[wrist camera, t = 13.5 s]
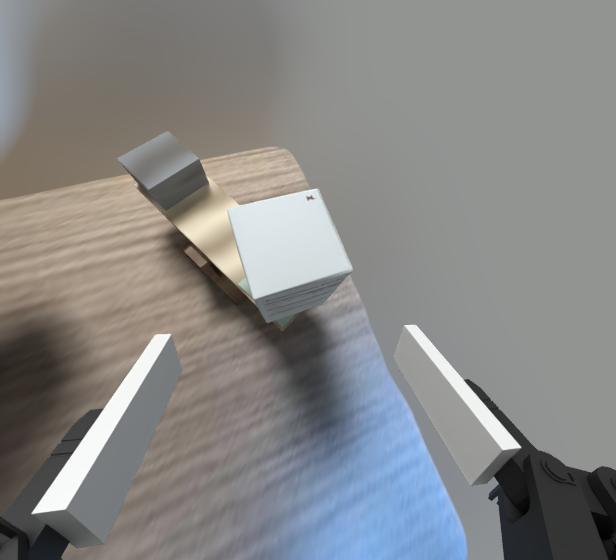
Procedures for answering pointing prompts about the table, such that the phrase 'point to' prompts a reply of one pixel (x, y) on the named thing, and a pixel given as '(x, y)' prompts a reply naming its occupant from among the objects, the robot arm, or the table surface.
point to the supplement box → (289, 252)
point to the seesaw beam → (190, 203)
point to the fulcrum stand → (214, 272)
